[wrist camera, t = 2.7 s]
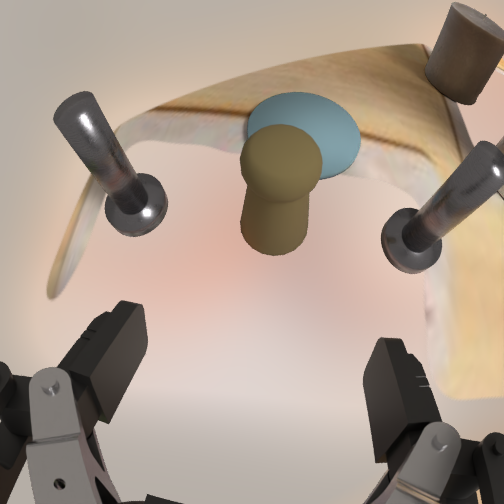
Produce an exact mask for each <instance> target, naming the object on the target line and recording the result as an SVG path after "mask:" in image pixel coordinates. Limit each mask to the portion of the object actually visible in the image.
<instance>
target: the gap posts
mask: <svg viewBox="0 0 504 504" xmlns="http://www.w3.org/2000/svg"><path fill="white" fill-rule="evenodd" d="M53 120H54V123H55V124H56V126H57V127H58V129H59V130H60V131H61V133H62V134H63V136H64V137H65V138H66V140H67V141H68V142H69V144H70V145H71V147H72V148H73V149H74V151H75V152H76V153H77V155H78V156H79V157H80V159H81V160H82V161H83V163H84V164H85V166H86V167H87V168H88V170H89V171H90V172H91V173H92V175H93V176H94V177H95V179H96V180H97V181H98V183H99V184H100V185H101V186H102V188H103V189H104V190H105V192H106V193H107V194H108V196H107V198H106V202H105V214H106V217H107V219H108V221H109V222H110V223H111V225H112V226H113V227H114V228H115V229H116V230H117V231H118V232H120V233H121V234H123V235H126V236H130V237H137V236H141V235H145V234H147V233H149V232H151V231H152V230H154V229H155V228H156V227H157V226H158V225H159V224H160V223H161V222H162V220H163V219H164V217H165V215H166V212H167V207H168V199H167V195H166V193H165V191H164V189H163V187H162V185H161V183H160V182H159V181H158V180H157V179H156V178H155V177H153V176H151V175H149V174H144V173H138V174H136V172H135V170H134V169H133V167H132V165H131V164H130V162H129V160H128V158H127V157H126V155H125V153H124V151H123V149H122V147H121V146H120V144H119V142H118V140H117V138H116V137H115V135H114V133H113V131H112V129H111V127H110V126H109V124H108V122H107V120H106V118H105V116H104V114H103V113H102V111H101V109H100V107H99V105H98V103H97V101H96V99H95V97H94V95H93V94H92V93H91V92H88V91H83V92H79V93H76V94H74V95H72V96H71V97H69V98H68V99H66V100H65V101H64V102H63V103H62V104H61V105H60V106H59V107H58V108H57V110H56V112H55V114H54V118H53ZM503 185H504V154H503V153H502V152H501V151H500V150H499V149H498V148H497V147H496V146H495V145H493V144H492V143H490V142H487V141H480V142H479V143H478V144H477V145H476V146H475V147H474V149H473V150H472V151H471V152H470V153H469V155H468V156H467V157H466V158H465V159H464V161H463V162H462V163H461V164H460V165H459V167H458V168H457V169H456V170H455V171H454V172H453V173H452V175H451V176H450V177H449V178H448V179H447V180H446V181H445V183H444V184H443V185H442V186H441V187H440V188H439V189H438V190H437V192H436V193H435V194H434V195H433V196H432V197H431V198H430V199H429V200H428V201H427V202H426V204H425V205H424V206H423V207H422V208H421V209H420V210H417V209H414V208H403V209H400V210H398V211H397V212H395V213H394V214H393V215H392V216H391V217H390V218H389V220H388V221H387V222H386V223H385V225H384V227H383V229H382V233H381V244H382V248H383V251H384V253H385V256H386V257H387V259H388V260H389V262H390V263H391V264H392V265H393V266H394V267H396V268H397V269H398V270H400V271H402V272H405V273H409V274H417V273H420V272H423V271H424V270H426V269H428V268H429V267H431V266H432V265H434V264H435V263H436V261H437V260H438V259H439V257H440V254H441V250H442V240H441V238H442V237H443V236H445V235H446V234H447V233H448V232H450V231H451V230H452V229H453V228H455V227H456V226H457V225H458V224H460V223H461V222H462V221H463V220H464V219H466V218H467V217H468V216H469V215H470V214H472V213H473V212H474V211H475V210H476V209H477V208H479V207H480V206H481V205H482V204H483V203H484V202H486V201H487V200H488V199H489V198H490V197H491V196H492V195H493V194H495V193H496V192H497V191H498V190H499V189H500V188H501V187H502V186H503Z"/></svg>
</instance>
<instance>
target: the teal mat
mask: <svg viewBox="0 0 504 504" xmlns="http://www.w3.org/2000/svg"><path fill="white" fill-rule="evenodd" d="M274 124H286V125H291V126H295V127H297V128H299V129H302V130H304V131H305V132H306V133H308V134H309V135H310V136H311V137H312V138H313V139H314V141H315V142H316V144H317V145H318V147H319V148H320V151H321V155H322V160H323V165H322V173H321V176H320V179H319V180H322V179H327V178H331V177H334V176H336V175H338V174H340V173H342V172H344V171H345V170H346V169H347V168H349V167H350V166H351V164H352V163H353V162H354V160H355V158H356V156H357V154H358V151H359V149H360V142H361V138H360V132H359V129H358V127H357V125H356V123H355V121H354V120H353V118H352V117H351V116H350V114H349V113H348V112H347V111H346V110H344V109H343V108H342V107H341V106H339V105H338V104H336V103H335V102H333V101H331V100H329V99H327V98H324V97H322V96H319V95H315V94H310V93H303V92H290V93H283V94H279V95H275V96H273V97H270V98H268V99H266V100H265V101H263V102H262V103H260V104H259V105H258V106H257V107H256V108H255V109H254V111H253V112H252V114H251V116H250V118H249V121H248V127H247V130H248V139H249V137H250V136H251V135H252V134H254V133H255V132H256V131H258V130H259V129H261V128H263V127H266V126H269V125H274Z"/></svg>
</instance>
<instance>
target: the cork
mask: <svg viewBox="0 0 504 504" xmlns="http://www.w3.org/2000/svg"><path fill="white" fill-rule="evenodd" d="M240 164H241V173H242V176H243V178H244V180H245V182H246V183H247V190H246V196H245V200H244V205H243V211H242V216H241V221H240V225H241V233H242V234H243V237H244V239H245V241H246V242H247V243H248V244H249V245H250V246H251V247H252V248H253V249H255V250H257V251H258V252H260V253H262V254H266V255H272V256H276V255H285V254H287V253H289V252H292V251H294V250H295V249H296V248H297V247H298V246H300V245H301V243H302V242H303V240H304V238H305V236H306V234H307V228H308V211H309V192H311V191H312V190H313V189H314V188H315V186H316V184H317V182H318V181H319V179H320V176H321V173H322V165H323V160H322V155H321V151H320V148H319V147H318V145H317V144H316V142H315V141H314V139H313V138H312V137H311V136H310V135H309V134H308V133H306V132H305V131H304V130H302V129H299V128H297V127H295V126H291V125H286V124H274V125H269V126H266V127H263V128H261V129H259V130H258V131H256V132H255V133H254V134H252V135H251V136H250V137H249V139H248V140H247V141H246V142H245V144H244V146H243V150H242V153H241V156H240Z"/></svg>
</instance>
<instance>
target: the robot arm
mask: <svg viewBox="0 0 504 504" xmlns="http://www.w3.org/2000/svg"><path fill="white" fill-rule="evenodd" d="M496 147H497V148H498V149H499V150H500V151H501V152H502V153H503V154H504V137H503V138H502V139H501V140H500V141H499V143H498V144H497V145H496ZM498 192H499V193H500V194H501V196H502V197H503V198H504V185H503V186H502V187H501V188H500V189H499V190H498ZM147 345H148V336H147V329H146V322H145V314H144V308H143V305H142V304H138V303H133V302H128V301H120V302H119V303H118V304H117V305H116V306H115V308H114V309H113V310H112V312H107V311H106V312H104V313H103V314H101V315H100V316H98V317H96V318H95V319H94V320H93V321H92V322H91V323H90V325H89V326H88V327H87V330H85V331H84V332H83V334H82V335H81V337H80V338H79V339H78V340H77V341H76V343H75V344H74V345H73V346H72V348H71V349H70V350H69V352H68V353H67V354H66V356H65V357H64V358H63V360H62V361H61V362H60V364H59V365H58V366H57V367H49V368H45V369H42V370H40V371H38V372H37V373H36V374H35V375H34V376H33V377H26V376H18V375H12V373H11V371H10V369H9V367H8V366H7V365H6V364H5V363H3V362H0V420H1V423H0V504H7V501H8V499H9V497H10V494H11V492H12V490H13V487H14V485H15V483H16V481H17V479H18V476H19V474H20V472H21V470H22V468H23V466H24V464H25V462H26V460H27V461H28V468H29V474H30V479H31V485H32V490H33V494H34V499H35V504H182V503H178V502H174V501H170V500H166V499H163V498H159V497H155V496H152V495H149V494H147V496H146V500H145V501H129V502H121V500H120V497H119V495H118V493H117V491H116V489H115V487H114V485H113V483H112V481H111V479H110V476H109V474H108V471H107V468H106V465H105V462H104V459H103V456H102V453H101V449H100V447H99V443H98V440H97V436H96V432H95V429H94V426H95V425H96V423H97V421H98V420H99V421H102V422H105V423H107V424H109V423H110V421H111V419H112V417H113V415H114V413H115V411H116V409H117V407H118V405H119V403H120V401H121V399H122V397H123V395H124V393H125V392H126V390H127V387H128V386H129V384H130V382H131V380H132V378H133V376H134V374H135V372H136V370H137V369H138V367H139V364H140V363H141V361H142V359H143V357H144V355H145V353H146V349H147ZM363 387H364V393H365V398H366V404H367V410H368V416H369V422H370V428H371V435H372V441H373V448H374V455H375V463H387V464H388V470H387V471H386V472H385V473H384V475H383V476H382V478H381V479H380V481H379V482H378V484H377V485H376V487H375V488H374V489H373V491H372V492H371V494H370V495H369V496H368V498H367V499H366V501H365V502H364V503H363V504H478V499H477V493H476V491H477V490H478V489H480V495H481V500H482V504H504V435H503V434H501V433H497V432H494V433H490V434H488V435H487V436H486V437H485V438H484V439H483V440H482V441H481V442H478V441H472V440H466V439H461V438H460V435H459V433H458V432H457V431H456V430H455V428H453V427H452V426H451V425H449V424H447V423H444V422H442V419H441V417H440V413H439V410H438V407H437V405H436V402H435V399H434V396H433V393H432V391H431V388H429V382H428V380H427V378H426V374H425V372H424V369H423V367H422V364H421V363H420V362H419V361H418V360H417V358H416V357H415V356H414V355H413V354H408V353H407V351H406V348H405V346H404V343H403V341H402V339H398V338H382V337H381V338H380V339H378V341H377V343H376V345H375V348H374V350H373V352H372V355H371V357H370V359H369V361H368V364H367V366H366V368H365V371H364V376H363Z"/></svg>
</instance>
